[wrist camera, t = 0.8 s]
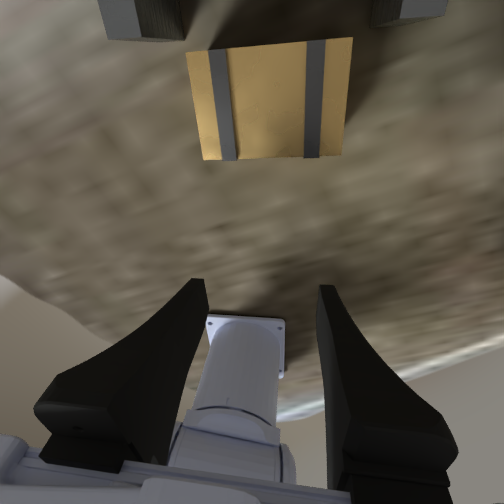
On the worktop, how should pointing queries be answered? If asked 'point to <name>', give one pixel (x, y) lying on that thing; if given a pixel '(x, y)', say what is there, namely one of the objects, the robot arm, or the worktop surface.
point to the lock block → (271, 99)
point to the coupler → (170, 26)
